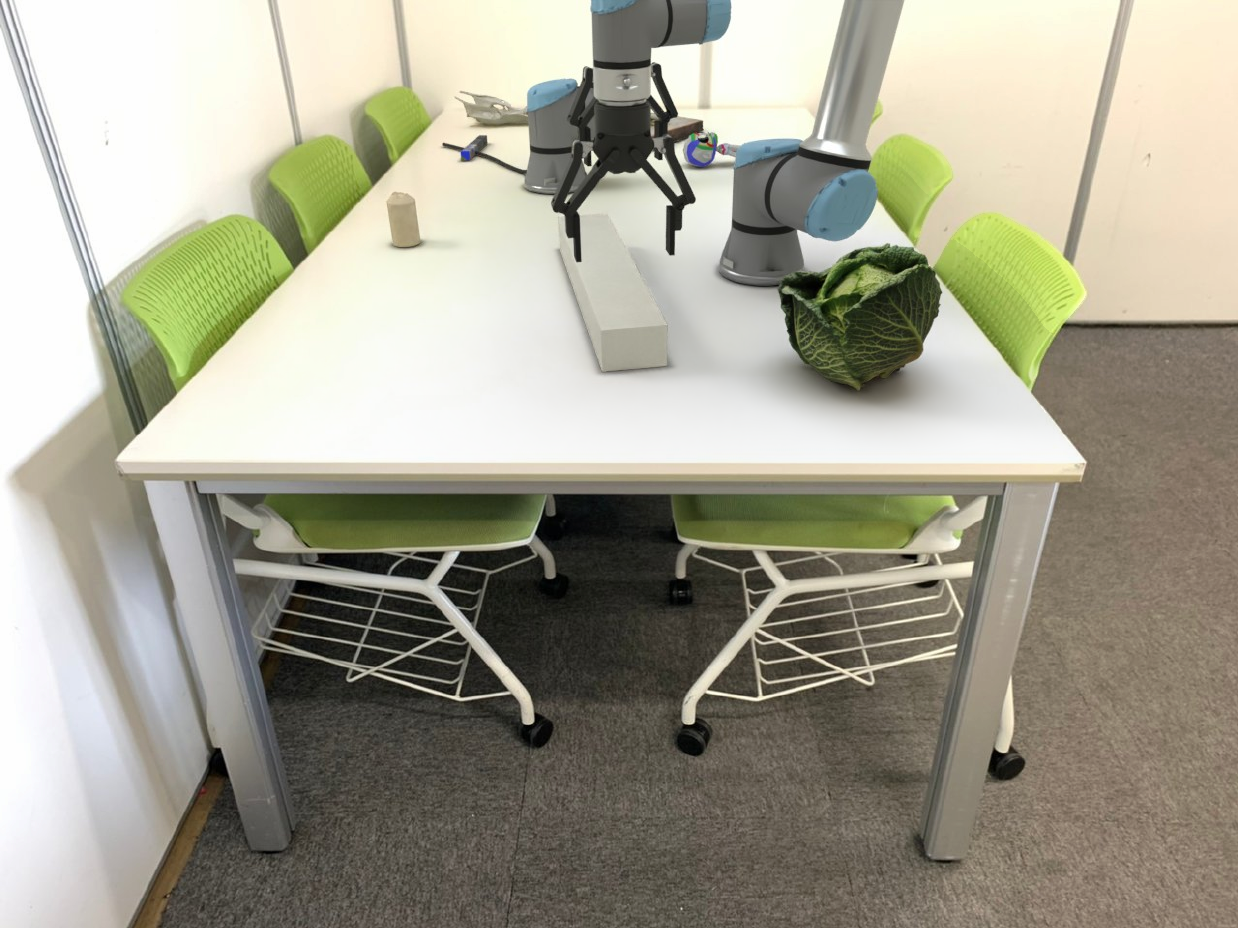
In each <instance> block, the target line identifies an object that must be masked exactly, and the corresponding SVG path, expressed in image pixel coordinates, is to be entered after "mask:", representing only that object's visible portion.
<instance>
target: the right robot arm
mask: <svg viewBox="0 0 1238 928" xmlns="http://www.w3.org/2000/svg"><path fill="white" fill-rule="evenodd" d="M904 3H905V0H844V1H843V5H842V9H841V13H840V17H839V21H838V26H837V29H836V34H835V36H834V37H835V38H834V42H833V46H832V50H831V54H830V58H829V62H828V66H827V70H826V75H825V78H824V83H823V87H822V92H821V95H820V98H819V102H818V103H819V104H818V107H817V111H816V115H815V119H814V124H813V128H812V132H811V134H810V135H809V136H808V137H807V138H805V139H803V140H802V139H799V138H768V139H759V140H752V141H748V142H744V143H745V144H744V143H742V144H743V145H742V144H741V145H740V147H739V148H738V149H737V152H736V157H735V159H734V166H733V182H732V184H733V185H732V207H731V208H732V209H731V227H730V232H729V234H728V237H727V239H726V242H725V245H724V248H723V249H722V253H721V255H720V259H719V264H718V265H719V267H718V269H719V273H720V274H721V276H723V278H725V279H727V280H729V281H731V282H735V283H738V284H742V285H749V286H756V287H757V286H759V287H770V286H779V285H780V284H781V283H782V281H781V280H782V278H783V277H784V276H786V275H789V274H790V273H793V272H796V271H805V259H804V255H803V252H802V247H801V243H800V239H799V233H798V231H800V232H801V233H805V234H807V235H808V236H810V237H811V238H813V239H822V240H825V241H829V242H840V241H844V240H847V239H849V238H850V237H852V236H854V235H855V234H856V233H857V231H860V230H861V229H862V228H863V227H864V226H865V225H866V223H867V222H868V220H869V219H870V217H871V215H872V214H873V211H874V209H875V207H876V204H877V200H878V191H879V190H878V187H877V182H876V179H875V177H874V176H873V175H872V174H871V173H870V172H869V171H870V168H871V163H872V159H873V156H872V155H871V153H870V152H869V150H868V148H867V142H868V141H867V140H868V138H869V133H870V129H871V126H872V123H873V119H874V115H875V111H876V109H877V108H876V107H877V104H878V101H879V97H880V92H881V89H882V85H883V82H884V79H885V74H886V71H887V67H888V62H889V59H890V56H891V51H892V48H893V44H894V42H895V41H894V40H895V37H896V33H897V31H898V30H897V29H898V27H899V22H900V19H901V15H902V11H903V7H904ZM591 13H592V14H591ZM590 14H591V40H592V39H593V51H592V68H593V73H594V97H595V98H596V99H598V100H599V101H597V102H596V104H595V105H594V115H595V137H594V140H593V142H585V141H580V140H579V139H574V140H573V141H572V150H571V157H570V159H569V162H568V164H567V166H566V169H565V171H564V173H563V176H562V178H561V180H560V183H559V185H558V187H557V190H556V192H555V194H553V196H552V199H551V203H550V205H551V208H552V211H553V212H554V213H556V214H558V213H559V214H562V215H564V216H565V232H566V235H567V237H568V238H573V244H574V257H575V260H576V262H582V259H581V233H580V216H579V215H580V214H579V211H578V210H579V209H580V207H581V206H582V204H583V203H584V202H585V201H586V199H587V198H588V197H589V196H590V194H591V193H592V191H593V190H594V189H595V187H596V186H597V185H598V184H599V182H600V181H601V180H602V179H604V177H605V176H606V175H607V174H608V173H611V174H613V175H620V174H623V173H627V174H637V173H636V172H638V171H640V170H641V169H642V171H643V172H644V173H645V175H647V177H649V179H650V180H651V181H652V183H654V184H655V185H656V187H657V188H658V190H659V191H660V192H662V194H663V195H664V196H665V197H666V198H667V199H668V201H669V202H670V204H669V205H668V204H667V205H666V206H665V208H666V209H665V251H666V252H667V254H668V256H675V255H676V254H675V253H676V252H675V251H676V232H678V231H681V230H682V229H683V210H684V209H685V207H686V206H689V205H694V204H695V203H696V201H697V198H696V195H695V193H694V191H693V189H692V187H691V185H690V183H689V181H688V179H687V176H686V174H685V172H684V170H683V168H682V165H681V164H680V161H679V159H678V157H677V154H676V150H675V142H674V140H673V139H672V137H671V136H670V135H668V134H664V135H663V136H662V137H659V138H653V139H652V137H651V113H652V109H651V104H650V103H649V101H647V100H646V99H648V98H649V97H650V95H652V93H651V92H652V91H651V90H652V88H651V87H652V85H651V84H652V82H651V79H652V77H651V63H652V49H658V48H663V47H675V46H676V47H677V46H685V45H686V46H688V45H704V44H706V43H710V42H715V41H718V40H721V38H722V37H723V36H724V35H725V34H726V33H727V31H728V29H729V26H730V24H731V19H732V0H590ZM593 59H594V60H593ZM654 147H656V148H658V151H659V152H660V153H661V154H663V157H664V158H665V160H666V162H667V164H668V166H669V169H670V171H671V173H672V175H673V177H674V180H675V181H676V183H677V185H678V188H679V190H680V192H681V193H682V194H680V195H678V194H676V193H675V191H674V190H673V189H672V188H671V187H670V185H669V184H668V183H667V182H666V181H665V179H664V178H663V177H662V176H661V175H660V174H659V173H658V171H657V170H656V169H655V168H654V167H653V165H652V164H651V163H650V162H649V160H648V158H649V156H650V155H651V154H652V152H654V150H653V149H654ZM590 151H591V152H593V154H594V155H595V156H596V158H597V160H596V161H595V162H594V164H592V166H591V169H590V171H589V172H588V173H587V176H586V177H585V179H584V180H583V181H582V183H581V184H580V185H579V187H578V188H577V189H576V191H575V192H572V194H571V195H570V197H569V198H568V196H569V194H570V193H569V191H570V188H571V186H572V184H573V182H574V179H575V177H576V175H577V172H578V170H579V168H580V165H581V162H582V161H583V160H584V158H586V157H587V155H588V153H589V152H590ZM567 198H568V200H567ZM566 200H567V201H566Z"/></svg>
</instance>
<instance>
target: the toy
mask: <svg viewBox="0 0 1238 928" xmlns="http://www.w3.org/2000/svg"><path fill="white" fill-rule="evenodd" d="M699 136H704V137H699ZM718 138H719V136H718V135H717V133H716V132H713V131H711V132H709V131H707V133H703V132H698V133H693V134H691V135H690V136H689V137H688V138H686V140H685V142H684V144H683V147H682V154H683V158H684V161H686V163H687V164H689V165H691V166H694V167H699V168H700V167H701V168H704V167H706V166H709V165H711V164H712V162H713V161H714V160H715V158H716V154H717V153H718V154H720V155H721V156H730V157H734V158H736V152H737V149H738V148H739V147H740V146H741V145H743V144H745V143H746V142H744V143H742V144H741V145H739V144H738V145H737V144H731V143H727V142H723V143H721V144H719V145H718V143H719V140H718Z"/></svg>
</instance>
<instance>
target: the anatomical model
mask: <svg viewBox="0 0 1238 928" xmlns="http://www.w3.org/2000/svg"><path fill="white" fill-rule="evenodd" d="M459 93H460V94H464V95H468V96H471V97H472V98H473V101H474V103H472V102H468V101H465V100H463V99H461V98H460V97H458V96H456V95H454V99H455V100H457V101H459V102H461V103H462V105H463V107H464V110H465V113H466V117H467V118H472V119H475V121H476V122H478V123H482V124H484V125H488V126H494V125H495V126H496V125H502V124H503V125H504V124H507V123H520V124H521V123H523V124H528V112H527V105H526V106H525V107H523V108H522V107H514V106H512V104H511V103H509V102H508V101H506V100H504V99H502V98H499V97H497V96H492V95H487V94H478V93H474V92H473V93H472V92H468V91H465V90H459ZM494 105H495V106H494ZM497 105H498V106H500V107H502V109H501V108H498V107H496V106H497Z"/></svg>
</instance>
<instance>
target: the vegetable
mask: <svg viewBox="0 0 1238 928" xmlns="http://www.w3.org/2000/svg"><path fill="white" fill-rule="evenodd" d="M936 275H937V272H936V270H935V268H934V267H931V266H930V265H929V261H928V257H927V256H926V254H923V253H921V252H918V251H916V250H915V247H914V246H900V245H897V244H894V245H892V246H891V243H888V242H887V243H885V244H883V245H882V246H865V247H861V248H856V249H853V250H852V251H850V252H848V253H847V254H845V255H843V256H841V257H840V258H838V260H837V261H836V262H835V263H834V264H832V266H831V267H828V268H826V269H824V270H822V271H810V270H806V271H805V270H804V271H796V272H793V273H790V274H789V275H786V276H784V277H783V278H782V280H781V281H782V283H781V284H780V285H778V288H777V293H778V296H779V299H780V309H781V310H782V312H783V313H784V314H785V316H784V323H785V326H786V329H787V330H786V332H787V334H788V341H789V344H790V345H791V347H792V349H793V350H794V351H795V352H796V354H797V355H798V357H799V358H800V359H801V361H802V362H803V363H804V364H805V365H810V366H811V367H812V368H813V369H814V371H816V372H817V373H818V374H819V375H821V376H822V377H824V378H825V379H828V380H829V381H830V382H835V383H839V384H842V385H843V384H844V385H849V386H850V387H852V388H854V389H855V390H856V391H857V392H859V391H860V390H861V388H863V387H866V386H865V383H868V382H870V381H871V380H872V379H873V378H875V377H879V378H882V379H888V378H889V377H890V375H891V374H892V373H893V372H899V371H900V370H901V369H902V368H905V366H906V365H908V364H910V363H912V362H914V361H916V360H918V359H920V357H921V355H922V354H923V353H924V343H925V340H926V338H927V336H928V335H929V333H930V331H931V329H932V327H933V325H934V321H935V319H936V318H938V316H939V313H940V309H939V308H940V307H941V306H942V305H941V303H940V301H941V297H942V294H943V290H942V288H941V284H940V283H941V282H940V281H939V280H938V279H937V277H936Z"/></svg>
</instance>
